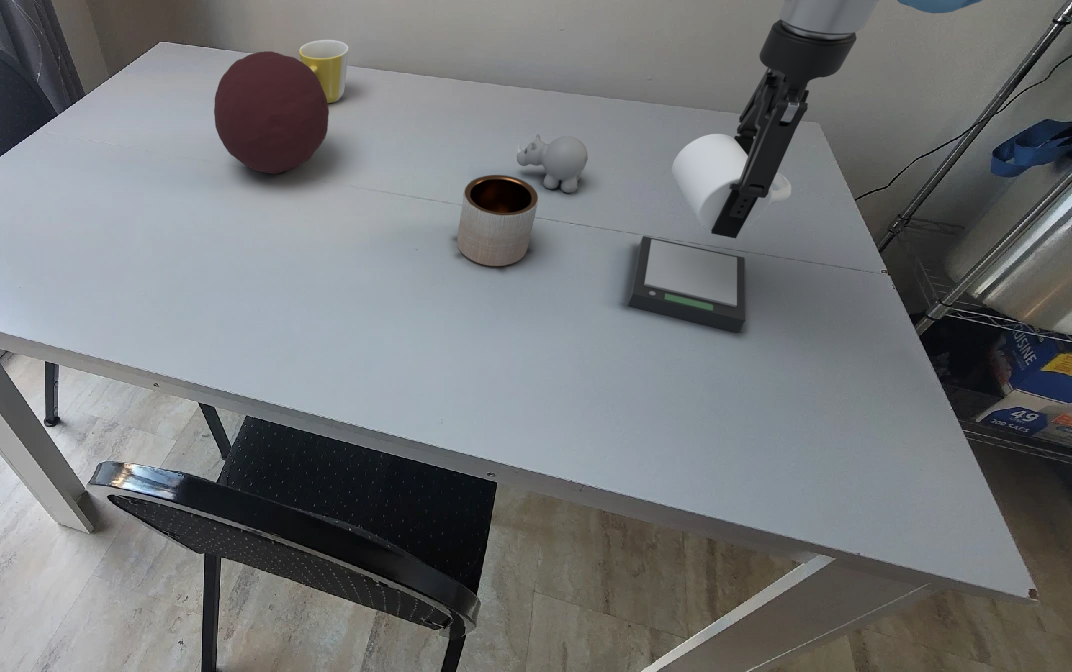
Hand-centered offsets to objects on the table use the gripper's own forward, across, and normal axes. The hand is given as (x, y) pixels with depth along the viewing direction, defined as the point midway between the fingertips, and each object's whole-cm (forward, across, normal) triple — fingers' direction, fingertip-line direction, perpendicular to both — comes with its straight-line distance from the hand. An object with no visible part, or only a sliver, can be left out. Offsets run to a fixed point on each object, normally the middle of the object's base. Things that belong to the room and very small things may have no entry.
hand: (724, 207), depth 76 cm
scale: (+14, 0, 0) cm, 14 cm away
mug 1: (+14, -35, -75) cm, 84 cm away
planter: (+14, +1, -28) cm, 31 cm away
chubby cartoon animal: (+14, -21, -24) cm, 35 cm away
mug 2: (+1, 0, 0) cm, 1 cm away
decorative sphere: (+14, -8, -71) cm, 73 cm away
